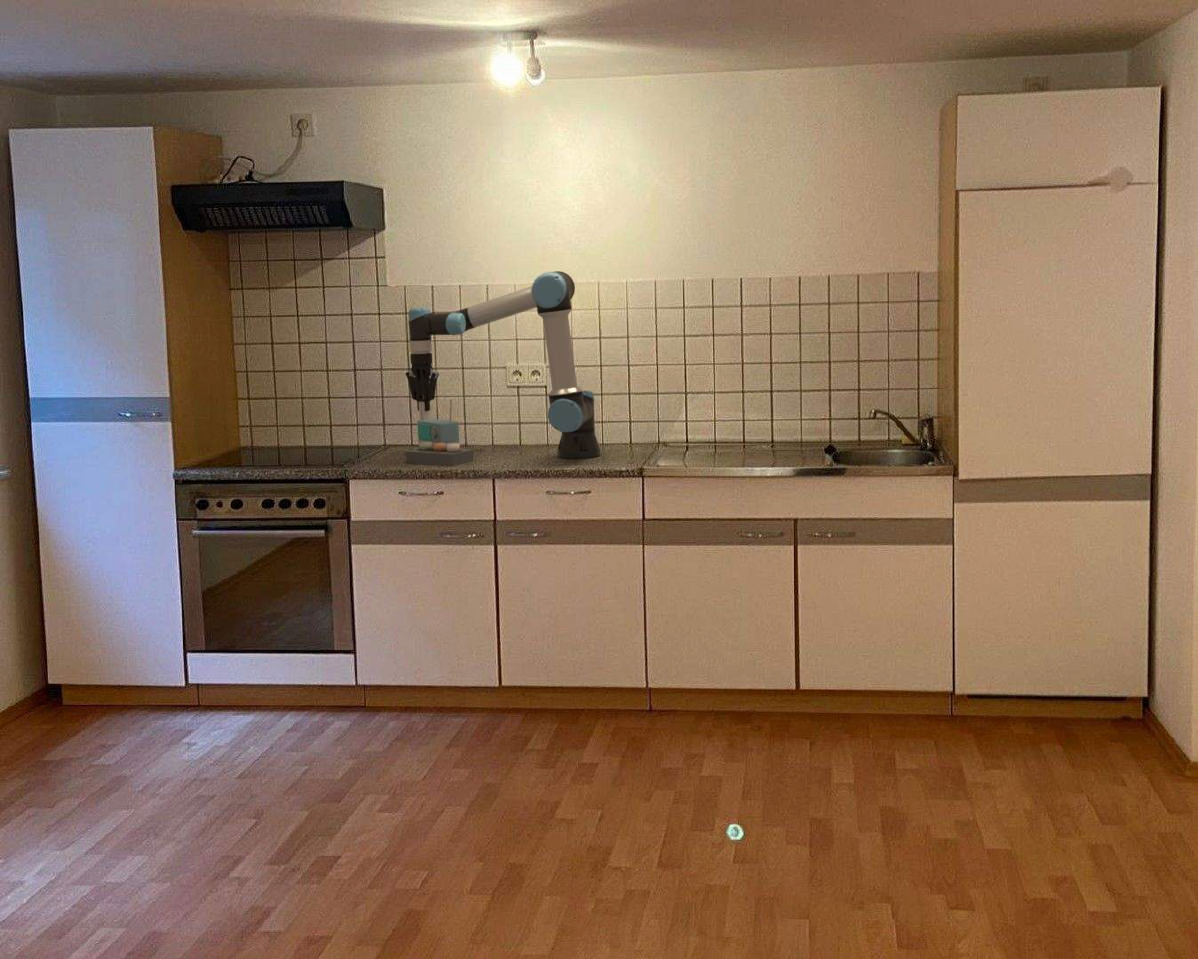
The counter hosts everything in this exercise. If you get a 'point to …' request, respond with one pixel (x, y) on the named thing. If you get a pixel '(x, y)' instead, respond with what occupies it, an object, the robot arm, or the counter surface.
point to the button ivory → (453, 447)
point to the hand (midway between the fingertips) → (424, 420)
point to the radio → (438, 431)
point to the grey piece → (439, 457)
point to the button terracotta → (439, 446)
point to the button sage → (425, 446)
